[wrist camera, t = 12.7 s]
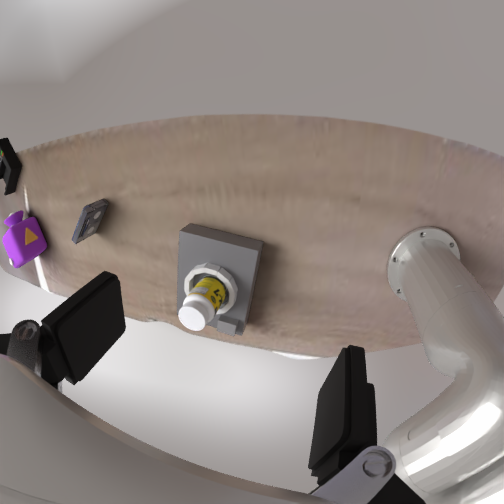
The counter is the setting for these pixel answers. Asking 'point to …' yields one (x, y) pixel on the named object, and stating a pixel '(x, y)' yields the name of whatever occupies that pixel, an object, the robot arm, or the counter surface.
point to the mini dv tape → (89, 220)
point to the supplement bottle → (203, 302)
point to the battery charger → (9, 166)
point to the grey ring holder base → (219, 271)
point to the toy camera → (23, 239)
